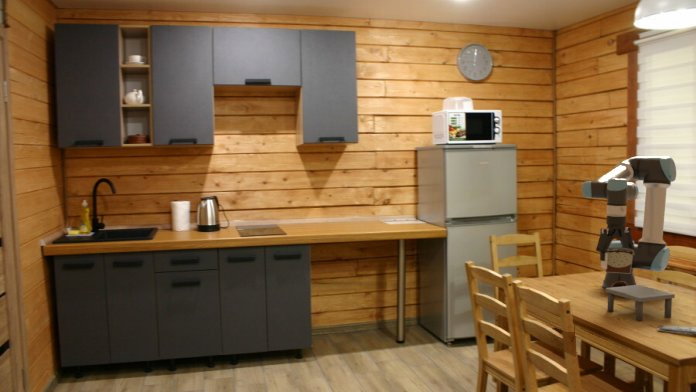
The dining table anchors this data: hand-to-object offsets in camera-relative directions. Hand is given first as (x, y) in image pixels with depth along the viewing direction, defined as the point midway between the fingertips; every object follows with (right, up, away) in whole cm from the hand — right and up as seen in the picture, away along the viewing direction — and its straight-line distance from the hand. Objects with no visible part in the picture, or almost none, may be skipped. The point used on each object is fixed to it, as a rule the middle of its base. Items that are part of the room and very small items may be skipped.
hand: (614, 267), depth 246 cm
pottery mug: (+14, -16, +24) cm, 32 cm away
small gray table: (+7, -18, -5) cm, 21 cm away
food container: (+1, -2, 0) cm, 2 cm away
